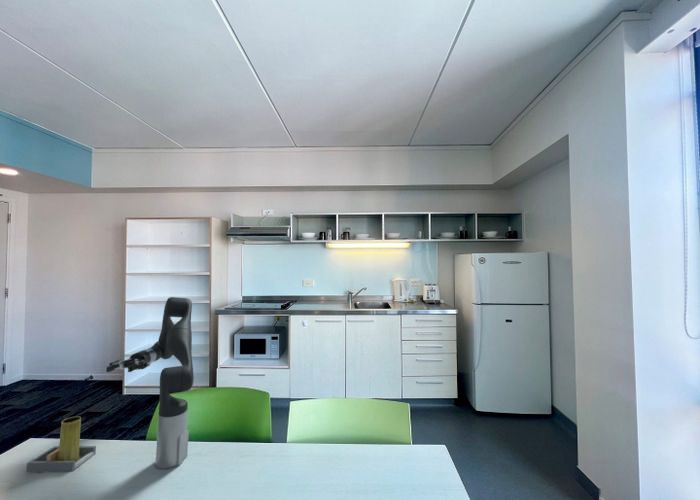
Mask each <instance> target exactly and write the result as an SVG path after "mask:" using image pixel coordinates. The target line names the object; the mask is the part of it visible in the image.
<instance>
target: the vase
mask: <svg viewBox="0 0 700 500" xmlns="http://www.w3.org/2000/svg"><path fill="white" fill-rule="evenodd" d="M60 423H61V425H60V426H61V427H60V436H59V441H58V442H59V443H58V446H59V450H58V457H57V461H77V460H78V459H79V446H81V445H80V444H81V443H80V439H81V427H82V426H81V425H82V417H81V416H80V415H79V416H78V415H76V416H71V417H68V418H67V417H66V418H65V419H62V421H61V422H60Z"/></svg>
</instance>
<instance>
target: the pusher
mask: <svg viewBox="0 0 700 500" xmlns="http://www.w3.org/2000/svg"><path fill="white" fill-rule="evenodd" d="M58 450H59V448H58V449H57V450H55V451H54V452H52V453H50V454H49V455H47V458H46V461H57V457H58Z"/></svg>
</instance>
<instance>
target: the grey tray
mask: <svg viewBox="0 0 700 500" xmlns="http://www.w3.org/2000/svg"><path fill="white" fill-rule="evenodd" d="M58 448H59V445H56V446H53V447H51V448H49V449H48V450H46V451H44V452H43V453H41V454H40V455H38V456H36V457H35V458H33V459H31V460H30V461H28V462H26V470H25V471H26V473H59V472H60V473H64V472H65V473H71V472H74V471H75V470H76V469H77V468H79V467H80V466H82V465H83V464H85V462H87V461H88V460H90V459H91V458H92V457H94V456H95V455H96V452H97V451H96V450H97V446H96V445H80V446H79V459H78V460H77V461H46V458H47V455H49V454H50V453H52V452H54V451H55V450H57V449H58Z"/></svg>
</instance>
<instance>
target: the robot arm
mask: <svg viewBox="0 0 700 500" xmlns="http://www.w3.org/2000/svg"><path fill="white" fill-rule="evenodd" d="M192 310H193V304H192V300H191V299H190V298H187V297H180V296H179V297H176V296H170V297H168V298H167V300H166V302H165V304H164V309H163V315H162V316H163V317H162V321H161V322H162V323H161V330H160V334H159V336H158V337H159V338H158V340H157V341H156V342H155V343H154V344H153V345H152V346H151V347H148V348H144V349H143V350H140V351H137V352H134V353H132V354H131V355H130V357H129V358H126V359H123V360H122V359H117V360H114V361H111V362H110V363H109V365H108V366H107V367H106V373H110V372H112V371H115V370H120V371H121V370H125V369H127V372H128V373H132V372H133V371H135V370H136V371H138V370H144V369H146V368H148V367H150V366H151V364H152V363H154V362H157V361H158V360H160V359H162V360H168V359H169V360H170V359H171V357H173V356H174V357H175V359H177V360H178V361H179V363H180V364H181V365H179V366H177V365H176V366H169V367H164V368H163V369H162V370H161V371H160V376H159V403H158V404H159V405H158V406H159V407H158V416H157V417H158V419H157V432H156V433H157V434H156V448H155V449H156V450H155V467H156V468H158V469H165V470H166V469H170V468H173V467H177V466H180V465H181V464H182V463H183V462H184V460H186V458H187V457H188V451H189V448H188V447H189V431H190V429H187V427H188V425H187V424H188V409H189V408H188V407H189V406H188V401H187V400H186V399H183V398H181V397H180V398H179V397H175V396H172V395H173V394H178V393H184V392H187V391H190V390H191V389H192V388H193V386H194V378H195V377H194V366H193V357H192V355H193V354H192V346H193V345H192V344H193V343H192V338H193V337H192V335H193V334H192ZM172 318H180V320H179V321H177V322H176V323H174V322H173V320H172ZM122 365H123V366H122Z"/></svg>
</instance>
